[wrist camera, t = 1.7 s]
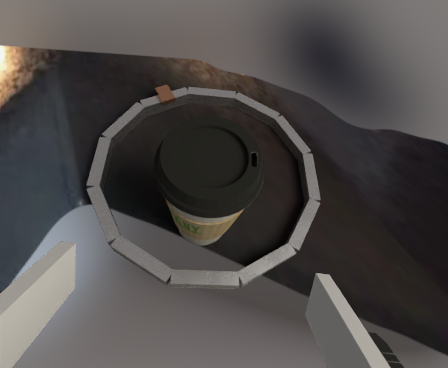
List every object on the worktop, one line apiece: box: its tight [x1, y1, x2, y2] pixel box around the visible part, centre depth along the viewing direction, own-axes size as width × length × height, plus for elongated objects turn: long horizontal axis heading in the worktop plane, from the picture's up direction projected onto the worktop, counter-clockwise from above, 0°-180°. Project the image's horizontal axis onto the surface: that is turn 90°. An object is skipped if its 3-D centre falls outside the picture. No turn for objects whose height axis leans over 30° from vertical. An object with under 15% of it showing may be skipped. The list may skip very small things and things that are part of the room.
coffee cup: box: [153, 116, 264, 245], centre depth 30 cm, size 10×10×15 cm
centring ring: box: [86, 85, 321, 289], centre depth 39 cm, size 31×30×3 cm
